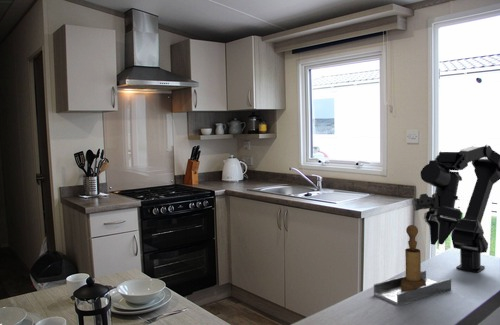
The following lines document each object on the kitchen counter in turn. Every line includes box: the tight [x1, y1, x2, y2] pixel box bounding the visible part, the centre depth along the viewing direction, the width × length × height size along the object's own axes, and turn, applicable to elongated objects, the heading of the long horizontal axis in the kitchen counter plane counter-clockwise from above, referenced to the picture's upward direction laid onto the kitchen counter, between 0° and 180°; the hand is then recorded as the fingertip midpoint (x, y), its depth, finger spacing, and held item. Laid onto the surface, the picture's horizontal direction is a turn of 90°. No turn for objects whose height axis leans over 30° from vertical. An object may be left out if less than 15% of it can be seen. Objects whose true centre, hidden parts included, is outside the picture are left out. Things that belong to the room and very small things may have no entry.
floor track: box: [373, 270, 452, 307], centre depth 119 cm, size 20×9×3 cm, turn 117°
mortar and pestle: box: [401, 224, 426, 292], centre depth 118 cm, size 7×6×18 cm
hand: (436, 244), depth 123 cm, fingers open, 9 cm apart
